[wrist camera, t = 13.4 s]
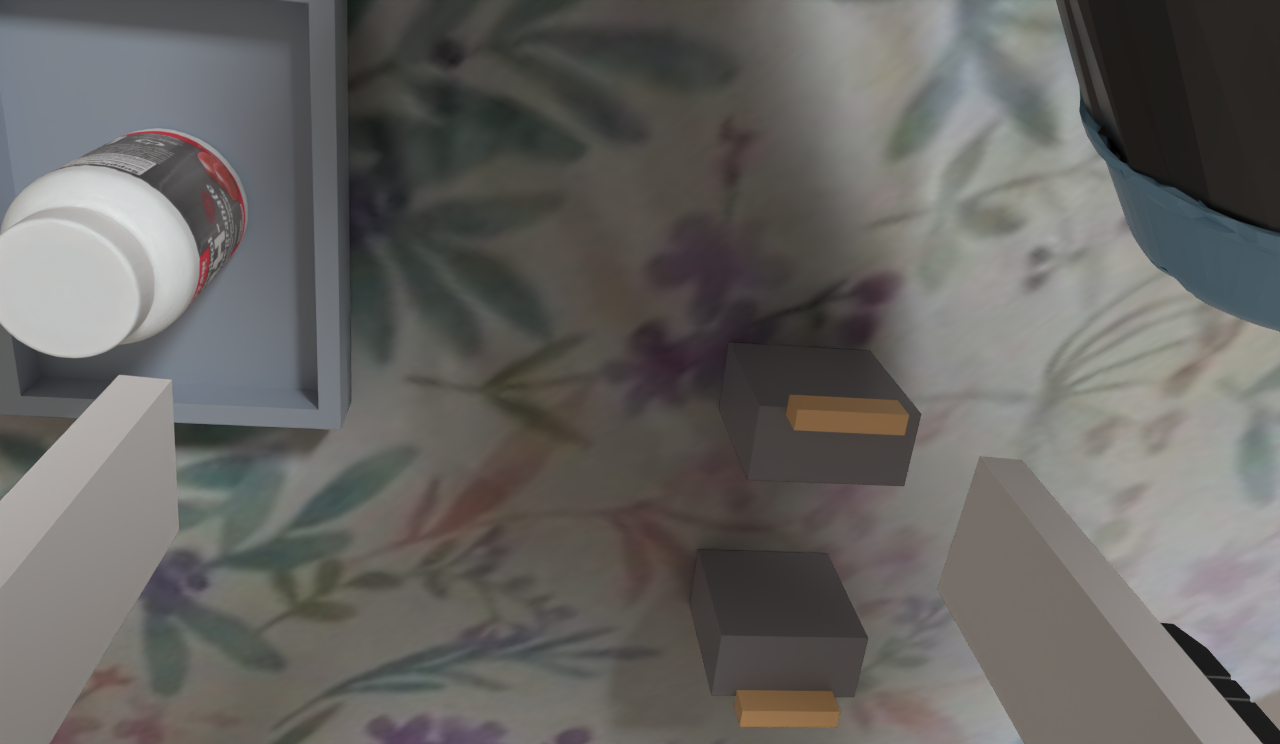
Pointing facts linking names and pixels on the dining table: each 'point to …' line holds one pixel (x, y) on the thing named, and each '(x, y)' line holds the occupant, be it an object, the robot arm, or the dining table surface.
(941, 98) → the dining table surface
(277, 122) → the tray
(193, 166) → the pill bottle
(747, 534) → the dining table surface
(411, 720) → the dining table surface
